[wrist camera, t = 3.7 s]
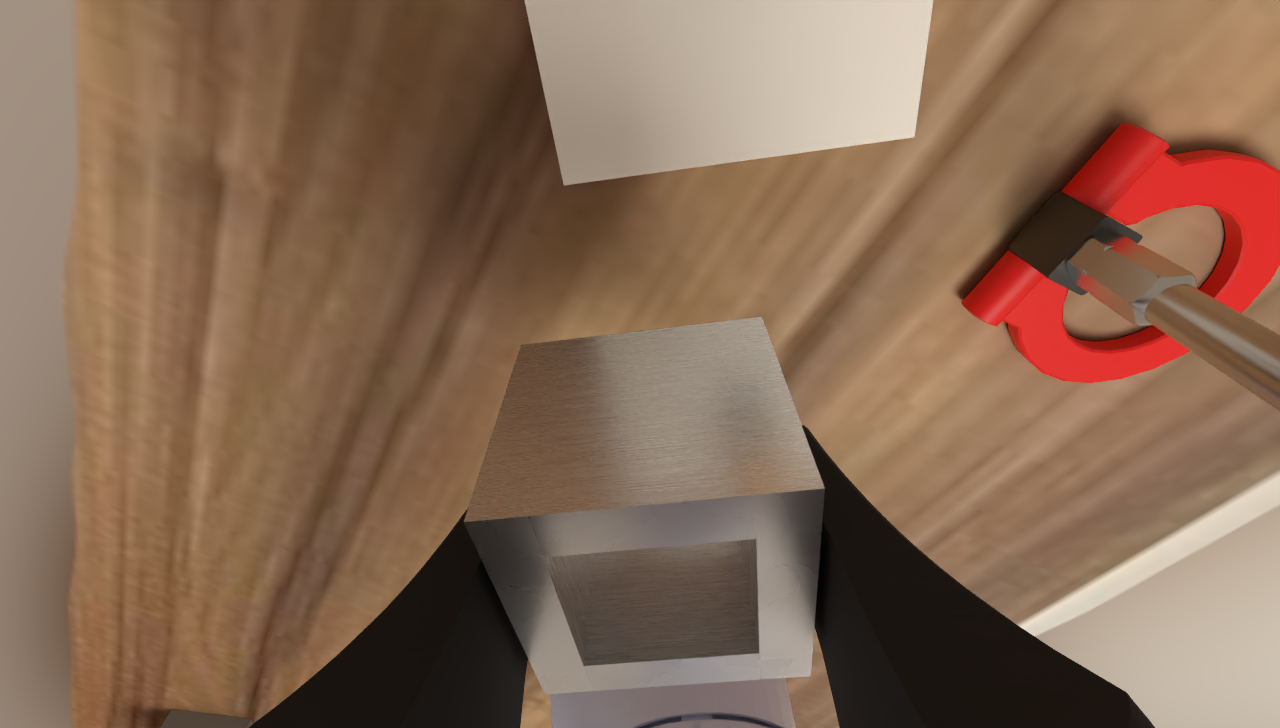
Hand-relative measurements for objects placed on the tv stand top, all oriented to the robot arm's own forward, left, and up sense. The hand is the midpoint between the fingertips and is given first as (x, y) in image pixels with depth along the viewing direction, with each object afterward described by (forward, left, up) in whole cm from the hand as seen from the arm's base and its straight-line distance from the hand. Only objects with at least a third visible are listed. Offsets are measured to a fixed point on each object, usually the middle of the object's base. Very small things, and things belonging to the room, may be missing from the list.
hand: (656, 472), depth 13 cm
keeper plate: (+3, +10, -9) cm, 14 cm away
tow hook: (+16, -1, -9) cm, 19 cm away
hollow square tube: (0, 0, -2) cm, 2 cm away
